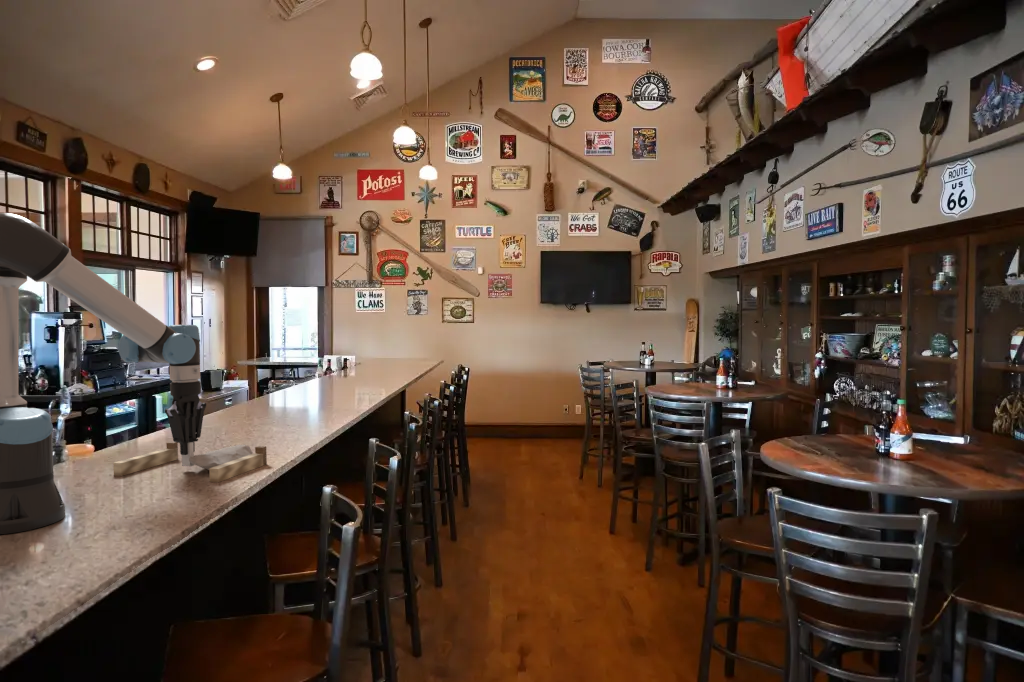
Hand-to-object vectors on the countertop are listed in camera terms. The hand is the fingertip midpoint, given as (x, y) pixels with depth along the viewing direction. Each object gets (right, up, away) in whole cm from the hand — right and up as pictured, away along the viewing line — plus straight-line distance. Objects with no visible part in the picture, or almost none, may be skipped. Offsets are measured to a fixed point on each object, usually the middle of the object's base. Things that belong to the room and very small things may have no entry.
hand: (188, 465), depth 172 cm
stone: (+8, -1, +7) cm, 11 cm away
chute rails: (0, -2, +2) cm, 2 cm away
